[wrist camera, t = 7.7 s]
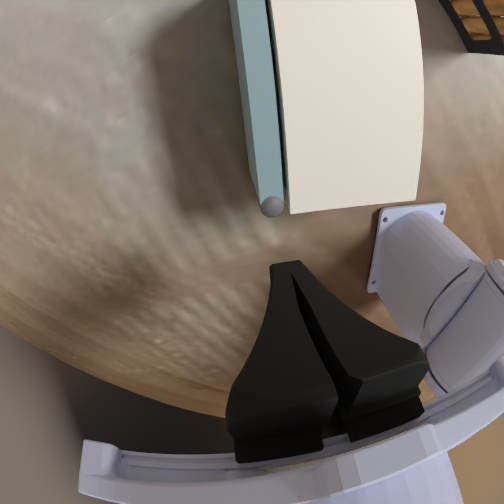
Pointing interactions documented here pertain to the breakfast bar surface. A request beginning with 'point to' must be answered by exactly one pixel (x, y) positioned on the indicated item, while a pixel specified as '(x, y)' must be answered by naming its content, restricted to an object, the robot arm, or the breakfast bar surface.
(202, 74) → the breakfast bar surface
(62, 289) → the breakfast bar surface
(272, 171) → the door
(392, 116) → the cabinet
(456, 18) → the ammunition clip
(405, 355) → the robot arm
